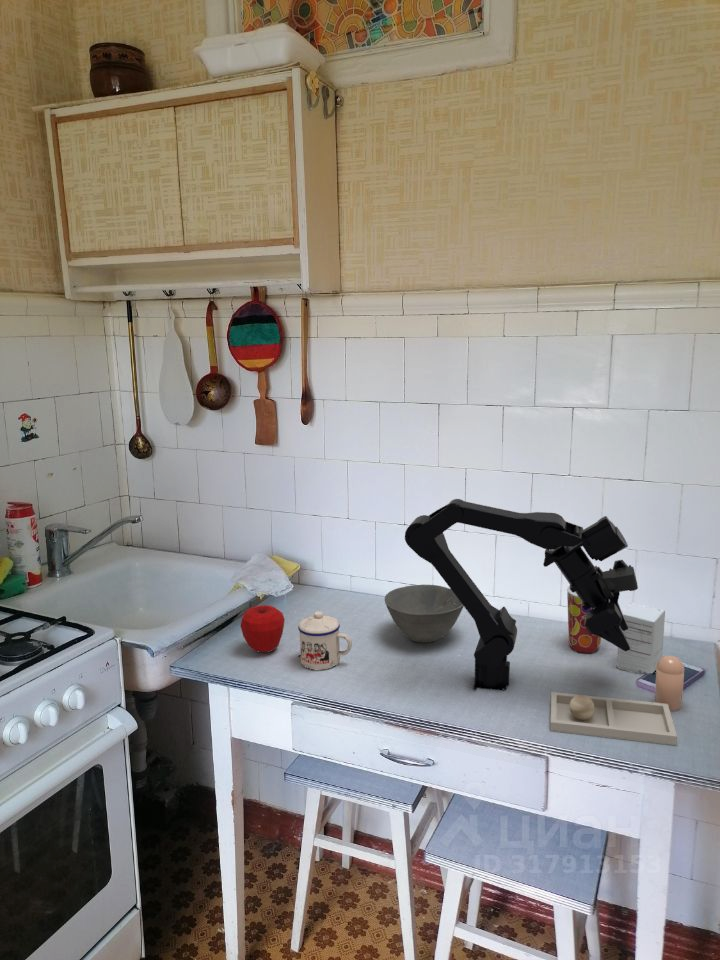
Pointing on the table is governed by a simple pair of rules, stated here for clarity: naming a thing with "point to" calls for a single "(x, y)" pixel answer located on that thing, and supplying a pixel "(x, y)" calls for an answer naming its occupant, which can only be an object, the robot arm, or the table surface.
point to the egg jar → (669, 682)
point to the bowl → (423, 611)
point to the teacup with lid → (321, 641)
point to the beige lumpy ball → (581, 707)
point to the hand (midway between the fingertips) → (627, 639)
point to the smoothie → (579, 626)
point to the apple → (262, 627)
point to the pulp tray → (616, 719)
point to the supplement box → (642, 639)
